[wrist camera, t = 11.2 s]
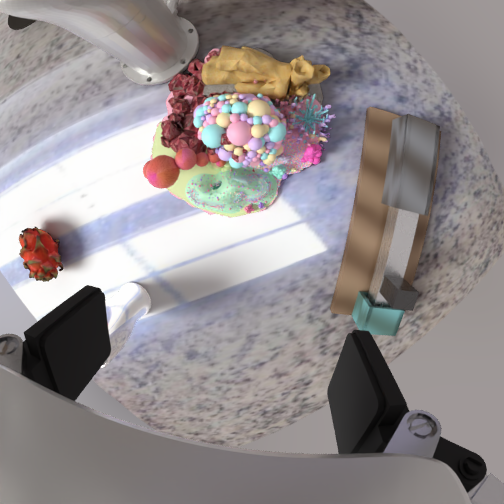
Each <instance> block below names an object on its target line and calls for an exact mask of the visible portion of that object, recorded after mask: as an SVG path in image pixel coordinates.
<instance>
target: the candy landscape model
mask: <svg viewBox="0 0 504 504" xmlns="http://www.w3.org/2000/svg"><path fill="white" fill-rule="evenodd" d="M204 60H205V62H204V63H202V62H201V61H200V60H199V59H197V58H196V59H193V60H192V61H191V63H190V64H189V67H188V71H189V72H191V73H192V74H193V75H192V76H191V75H190V74H181V73H179V74H178V75H177V76H176V77H174V78H173V80H172V81H171V82H170V83H169V84H168V86H169V90H170V91H171V93H170V95H169V96H168V98H167V100H166V105H167V109H168V115H167V116H166V117H164V118H163V120H162V122H160V123H158V125H157V130H156V133H155V135H154V137H153V142H154V144H153V148H152V155H151V160H150V161H148V162H147V163H146V164H145V165H144V168H143V174H144V176H145V177H146V178H147V179H148V181H149V183H150V184H152V185H153V186H154V187H157V188H167V189H168V190H169V192H170V193H171V194H172V195H174V196H175V197H177V198H179V199H183V200H185V201H186V202H187V204H189V205H191V206H192V207H197V208H199V209H201V210H203V211H204V212H206V213H208V214H210V215H211V214H220V215H222V216H223V215H224V216H228V217H236V216H241V215H246V214H250V213H255V212H259V211H263V210H265V208H266V207H267V206H269V205H271V204H272V202H273V201H274V200H275V198H276V197H277V195H278V188H279V186H280V185H281V184H280V182H281V180H282V179H286V178H287V176H288V175H287V174H293V173H297V172H300V170H303V169H302V168H307V167H310V165H311V164H312V163H313V164H318V163H320V156H321V155H322V152H321V146H324V145H323V144H320V145H318V143H319V141H321V140H322V141H323V142H329V141H328V140H327V139H326V138H327V137H328V138H330V136H327V135H330V133H327V134H325V133H322V132H320V131H321V130H322V128H323V127H327V128H328V126H327V125H326V124H325V123H326V122H330V120H331V118H336V116H335V114H333V115H329V114H328V113H327V115H326V116H324V118H325V117H326V119H324V118H323V119H322V117H323V114H324V113H326V112H328V111H329V110H327V109H328V108H331V105H326V106H325V107H324V110H322V105H321V104H322V101H323V94H322V90H321V86H320V83H321V82H322V81H323V80H326V79H327V78H328V77H329V76H330V74H331V73H330V68H328V67H327V66H326V65H312V63H311V61H309V60H305V59H304V57H303V55H302V56H300V57H298V58H297V59H294V60H292V61H291V62H290V63H284V62H280V61H278V60H277V59H274V58H273V56H272V54H271V53H268V52H266V51H264V50H262V49H260V48H254V49H252V48H249V47H246V46H243V47H242V48H240V49H239V48H234V47H229V46H223V45H222V48H221V49H220V50H219V49H217V48H215V49H212V50H211V51H210V52H209V53H208V55H207V56H206V57H205V59H204ZM328 115H329V116H328ZM330 129H333V128H329V129H328V130H330ZM323 131H326V129H324V130H323ZM321 136H323V137H321ZM324 136H325V137H326V138H325V137H324ZM322 150H325V149H322Z"/></svg>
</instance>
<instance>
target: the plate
mask: <svg viewBox="0 0 504 504" xmlns="http://www.w3.org/2000/svg"><path fill="white" fill-rule="evenodd" d="M35 21H37V20H33V19H27V18H20V17H15V16H11V15H9V18H8V25H9V27H10V28H11V29H14V30H19V29H23V28H25V27H27V26H29V25H31V24H32V23H34V22H35Z"/></svg>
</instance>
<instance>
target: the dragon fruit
mask: <svg viewBox="0 0 504 504" xmlns="http://www.w3.org/2000/svg"><path fill="white" fill-rule="evenodd" d="M22 232H23V235H22V234H20V236H19V241H20V244H21V246H22V249H21V250H20V253H19V254H20V256H21V257H22V258H23V259H24V262H23V265H24V268H25V269H29V270H30V274H29V278H34V276H35V279H36V281H38V280H42V281H43V282H44V281H49V280H51V279H52V278H53V277H54V278H56V277H57V275H58V271H57V269H56V268H57V267H58V266H59V267H61V269H59V271H62V270H63V265H62V263H61V256H60V255H59V254H58V247H59V244H58V242H59V240H58V239H57V240H55V242H54V241H53V239H52V237H51V235H49V233H46V232H45V231H43V230H41V229H38V228H37V227H35V228H33V229H31V228H27V229H25V230H23V231H22ZM59 243H60V242H59Z"/></svg>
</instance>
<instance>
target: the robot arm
mask: <svg viewBox="0 0 504 504" xmlns="http://www.w3.org/2000/svg"><path fill="white" fill-rule="evenodd" d="M178 3H179V0H167V1H166V4H165V2H164V1H163V0H0V11H1V12H3V13H6V14H8V15H11V16H15V17H20V18H27V19H33V20H39V21H44V22H48V23H51V24H54V25H57V26H59V27H61V28H64V29H66V30H68V31H70V32H72V33H74V34H75V35H77V36H79V37H81V38H83V39H85V40H86V41H88V42H90V43H91V44H93V45H95V46H97V47H98V48H100V49H102V50H103V51H105V52H107V53H108V54H110V55H111V56H113V57H115V58H116V59H118V60H119V61H121V68H122V71H123V72H124V74H125V75H126V76H127V78H128V79H130V80H131V81H133V82H135V83H137V84H140V85H145V86H154V85H159V84H163V83H165V82H168V81H170V80H172V79H173V78H174V77H176V76H177V75H178V74H179V73H183V72H184V71H185V70H186V69H187V68H188V67H189V64H190V63H191V61H192V60H193V59H194V58H195V56H196V54H197V51H198V48H199V35H198V33H197V30H196V29H195V27H194V25H193V24H192V23H191V22H190V21H188V20H186V19H185V18H182V17H179V16H177V13H178V11H177V10H176V7H177V6H178ZM185 62H186V63H185ZM184 63H185V64H184ZM151 80H152V81H151ZM24 335H25V338H26V340H25V341H24V342H23V341H22V339H21V338H20V337H19V336H17V335H14V334H5V335H1V336H0V504H504V483H502V482H501V481H500V480H499V479H498V478H496V477H495V476H494V475H493V474H491V473H490V474H489V475H488V476H487V475H486V470H487V469H486V464H485V462H484V460H483V459H482V458H481V457H480V456H479V455H478V454H476V453H474V452H471V451H469V450H467V449H465V448H463V447H461V446H459V445H456V444H455V443H452V442H450V441H448V440H446V439H444V438H442V437H440V435H441V429H442V428H441V425H440V422H439V421H438V419H437V418H436V417H435V416H434V415H432V414H430V413H429V412H426V411H423V410H413V411H410V412H409V410H408V407H407V404H406V402H405V399H404V397H403V395H402V393H401V391H400V389H399V387H398V385H397V383H396V381H395V379H394V377H393V375H392V373H391V371H390V369H389V368H388V365H387V363H386V361H385V359H384V358H383V356H382V354H381V352H380V350H379V348H378V346H377V344H376V342H375V341H374V339H373V337H372V335H371V333H370V332H369V331H365V330H354V331H353V332H352V333H349V334H348V335H347V337H346V340H345V343H344V346H343V349H342V352H341V354H340V357H339V360H338V363H337V365H336V368H335V371H334V373H333V376H332V379H331V381H330V384H329V386H328V399H329V404H330V409H331V414H332V419H333V424H334V429H335V435H336V440H337V446H338V452H339V454H304V453H283V452H270V451H259V450H251V449H242V448H236V447H229V446H223V445H217V444H211V443H206V442H201V441H196V440H191V439H187V438H183V437H178V436H174V435H170V434H166V433H163V432H159V431H155V430H152V429H149V428H145V427H142V426H138V425H135V424H132V423H129V422H126V421H124V420H121V419H118V418H115V417H112V416H109V415H107V414H104V413H101V412H99V411H96V410H94V409H91V408H89V407H87V406H84V405H82V404H79V403H77V402H75V400H76V399H77V397H78V396H79V395H80V393H81V392H82V391H83V389H84V388H85V387H86V385H87V384H88V383H89V382H90V380H91V379H92V378H93V376H94V375H95V374H96V373H97V371H98V370H99V369H100V367H101V366H102V365H103V364H104V362H105V361H106V360H107V359H108V357H109V356H110V353H111V344H110V337H109V330H108V322H107V313H106V303H105V295H104V293H102V291H101V289H100V288H97V287H93V286H88V285H87V286H85V287H84V288H82V289H81V290H79V291H78V292H77V293H75V294H74V295H73V296H71V297H70V298H68V299H67V300H66V301H64V302H63V303H62V304H60V305H59V306H58V307H56V308H55V309H54V310H52V311H51V312H50V313H48V314H47V315H46V316H44V317H43V318H42V319H40V320H39V321H38V322H37V323H35V324H34V325H33V326H31V327H30V328H29V329H28V330H26V331H25V332H24Z"/></svg>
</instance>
